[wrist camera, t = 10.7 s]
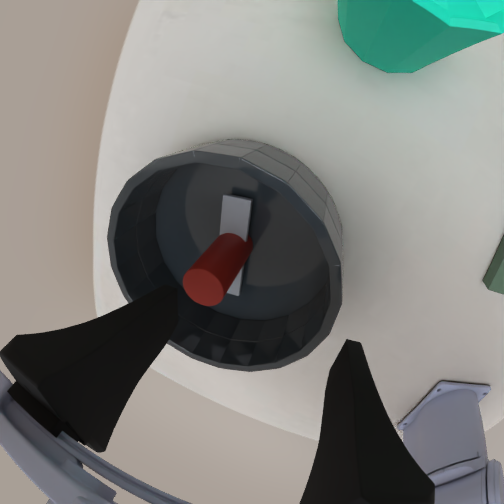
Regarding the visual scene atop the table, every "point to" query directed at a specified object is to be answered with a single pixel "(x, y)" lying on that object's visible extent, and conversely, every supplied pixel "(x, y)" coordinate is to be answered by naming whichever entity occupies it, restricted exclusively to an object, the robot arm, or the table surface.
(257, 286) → the processor bowl
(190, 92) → the table surface
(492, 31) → the candle
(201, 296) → the blade
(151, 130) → the table surface
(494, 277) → the control block
